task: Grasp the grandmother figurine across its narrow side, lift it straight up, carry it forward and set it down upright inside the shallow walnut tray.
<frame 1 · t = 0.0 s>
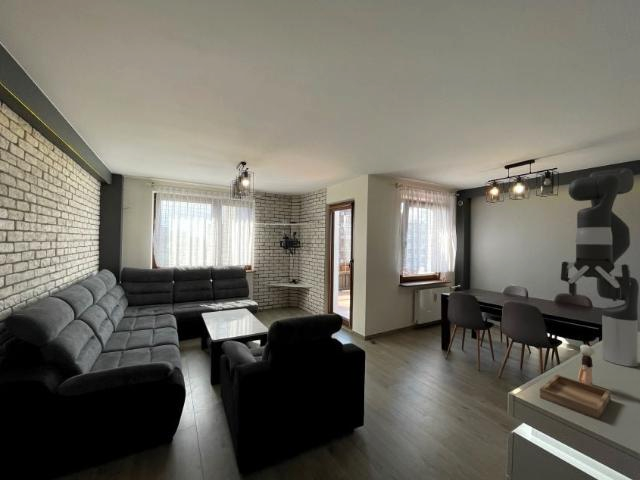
hand: (593, 298, 79), 29 cm above the table, fingers open, 8 cm apart
walnut tray: (575, 398, 78), on the table
grandmother figurine: (586, 385, 86), on the table
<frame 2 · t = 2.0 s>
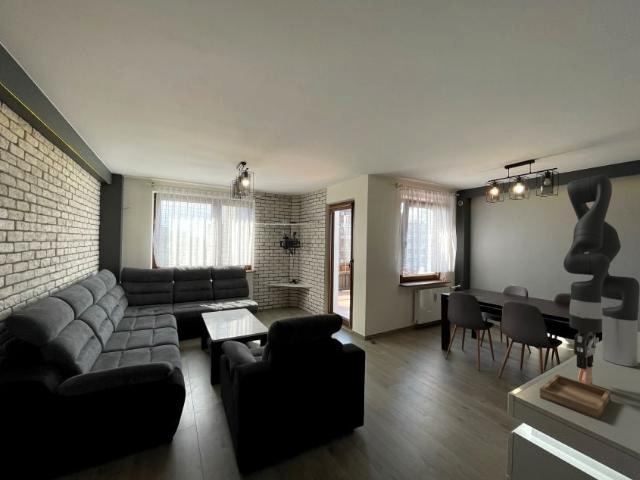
hand: (585, 365, 86), 6 cm above the table, fingers open, 8 cm apart
grandmother figurine: (586, 385, 86), on the table, touching gripper
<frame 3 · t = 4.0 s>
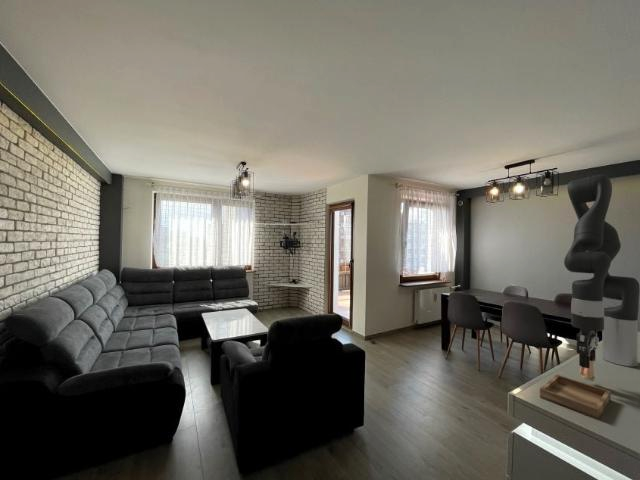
hand: (587, 363, 86), 7 cm above the table, fingers closed on grandmother figurine, 8 cm apart
grandmother figurine: (588, 378, 86), point 2 cm above the table, touching gripper
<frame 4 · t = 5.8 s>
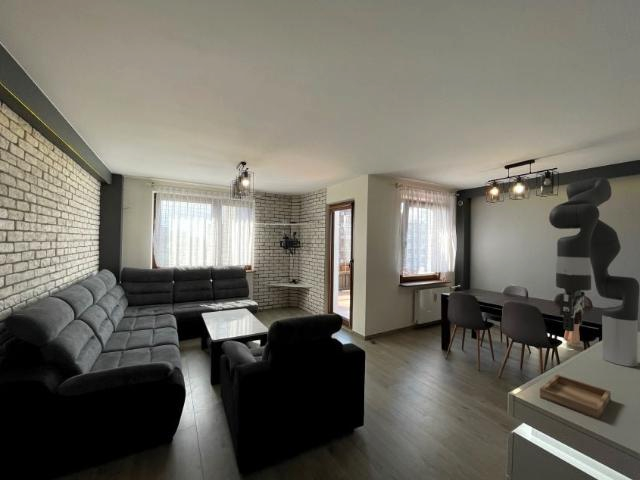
hand: (572, 328, 78), 20 cm above the table, fingers closed on grandmother figurine, 8 cm apart
grandmother figurine: (572, 345, 78), point 16 cm above the table, touching gripper
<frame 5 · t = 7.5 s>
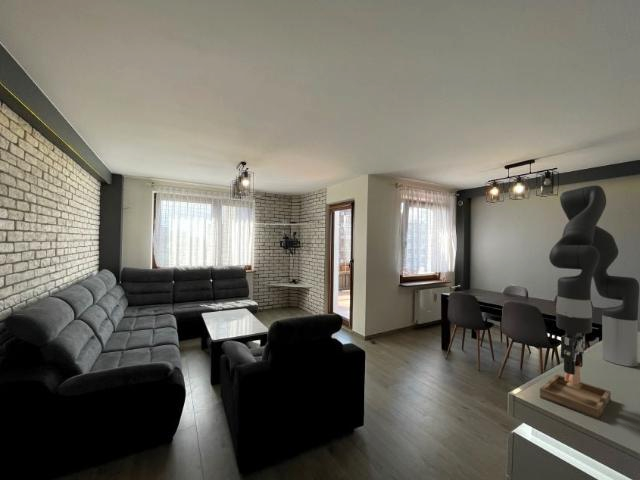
hand: (573, 369, 77), 9 cm above the table, fingers closed on grandmother figurine, 8 cm apart
grandmother figurine: (573, 386, 77), point 4 cm above the table, touching gripper
when the fingers open (7 cm above the table, at t = 9.0 s): grandmother figurine drops 2 cm, resting on walnut tray.
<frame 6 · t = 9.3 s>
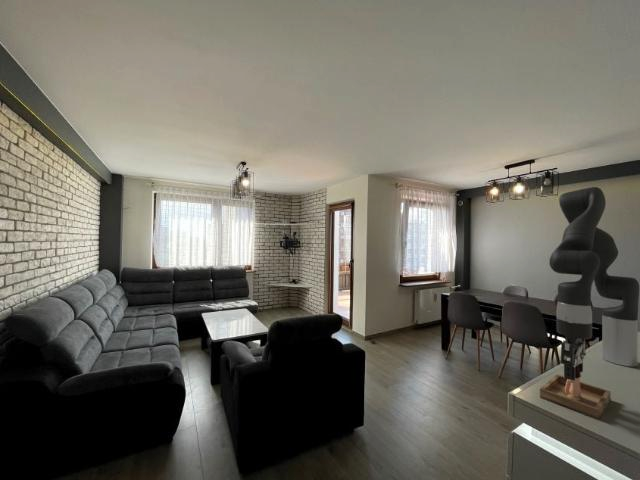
hand: (573, 374, 77), 7 cm above the table, fingers open, 8 cm apart
grandmother figurine: (574, 398, 77), resting on walnut tray
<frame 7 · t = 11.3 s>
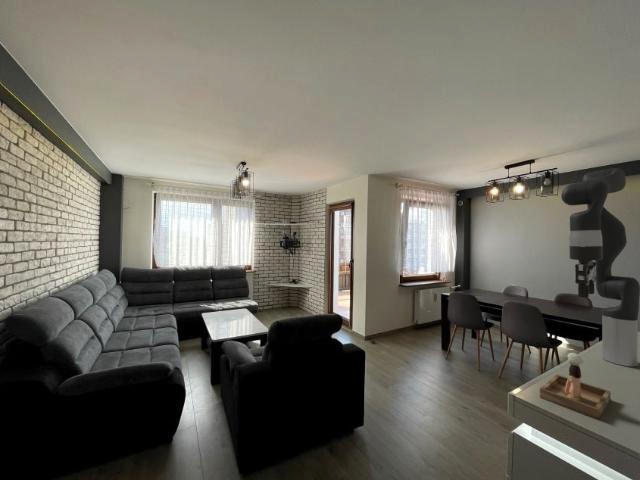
hand: (586, 295, 85), 29 cm above the table, fingers open, 8 cm apart
nothing on the table moved.
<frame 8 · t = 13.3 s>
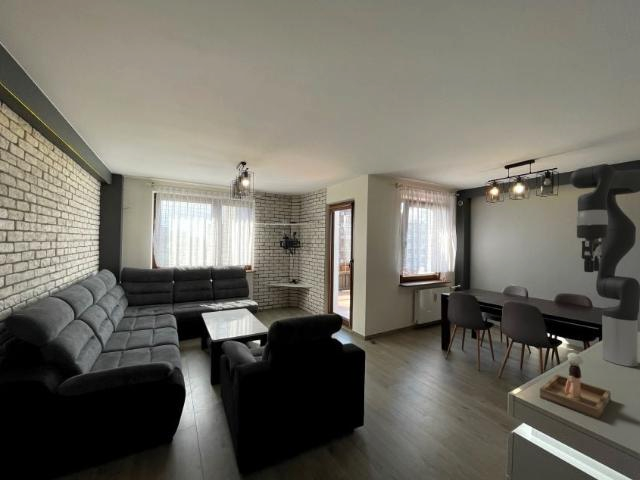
hand: (591, 271, 91), 36 cm above the table, fingers open, 8 cm apart
nothing on the table moved.
at the end: grandmother figurine inside the target area on the walnut tray (0.9 cm from its centre), point 0.4 cm above the walnut tray's base; grandmother figurine tilted 0°; the gripper is holding nothing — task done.
